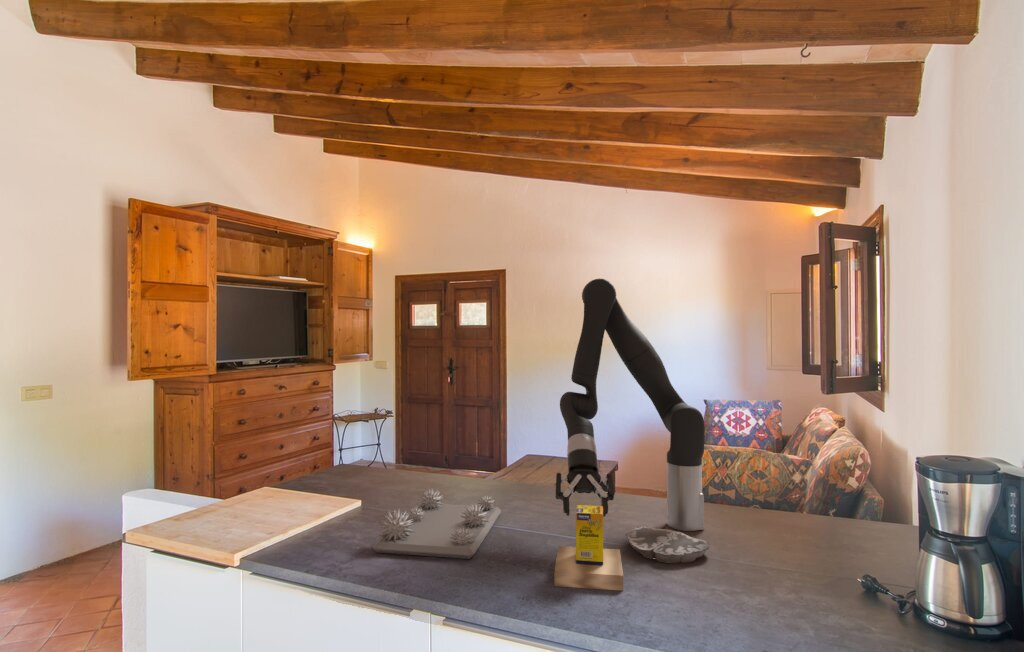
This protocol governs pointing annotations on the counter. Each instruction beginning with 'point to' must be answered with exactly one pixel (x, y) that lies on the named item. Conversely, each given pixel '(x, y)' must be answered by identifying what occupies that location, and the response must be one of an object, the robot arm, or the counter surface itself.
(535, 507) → the counter surface
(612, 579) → the oak base board
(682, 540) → the brain slice
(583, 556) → the supplement box
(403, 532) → the decorative tray
